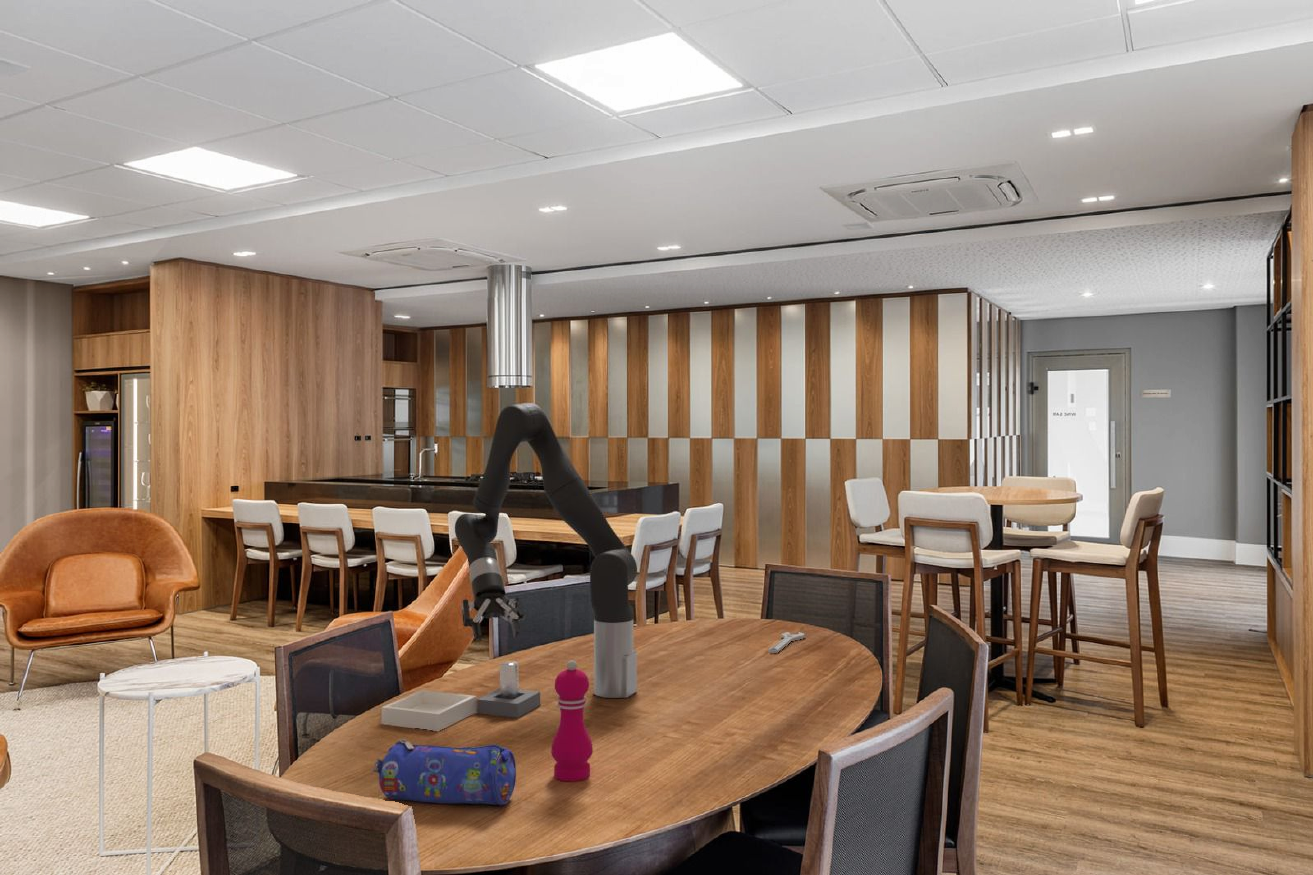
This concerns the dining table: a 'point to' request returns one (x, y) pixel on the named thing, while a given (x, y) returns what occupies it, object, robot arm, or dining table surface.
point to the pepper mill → (571, 726)
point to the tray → (429, 710)
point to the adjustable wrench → (785, 641)
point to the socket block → (508, 703)
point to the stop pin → (509, 680)
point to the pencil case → (447, 774)
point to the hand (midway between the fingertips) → (498, 637)
